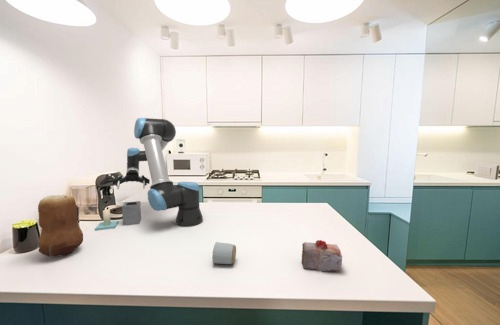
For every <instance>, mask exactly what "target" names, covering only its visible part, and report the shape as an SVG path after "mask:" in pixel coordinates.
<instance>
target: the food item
mask: <svg viewBox="0 0 500 325" xmlns="http://www.w3.org/2000/svg"><path fill="white" fill-rule="evenodd" d="M301 251H302V253H301V263H302V268H303V269H306V270H307V269H311V270H317V271H318V272H321V273H322V272H326V271H327V272H330V271H334V272H338V271H340V270H341V269H342V264H343V255H342V252H341V250H340V248H339V246H338V244H333V243H332V244H330V243H327V242H326V241H324V240H321V239H319V240H316V241H315V242H307V241H305V242H303V243H302V250H301Z"/></svg>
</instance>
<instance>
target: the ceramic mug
mask: <svg viewBox="0 0 500 325" xmlns="http://www.w3.org/2000/svg"><path fill="white" fill-rule="evenodd" d="M236 256H237V247H236V245H235V244H233V243H226V242H219V241H216V242H215V243H214V245H213V250H212V257H211V259H212V263H213V264H218V265H220V264H221V265H222V264H223V265H233V264H234V263H235V261H236Z"/></svg>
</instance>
